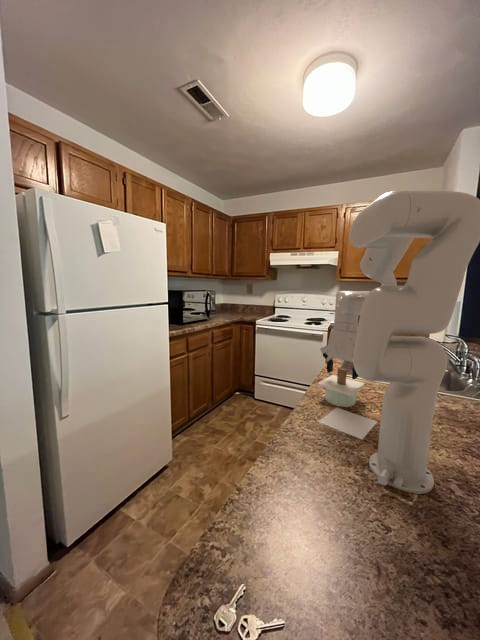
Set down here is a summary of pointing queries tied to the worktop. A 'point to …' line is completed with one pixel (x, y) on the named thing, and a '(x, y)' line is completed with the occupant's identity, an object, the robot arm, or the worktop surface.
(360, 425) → the mat
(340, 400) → the bowl
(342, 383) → the cover
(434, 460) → the worktop surface
